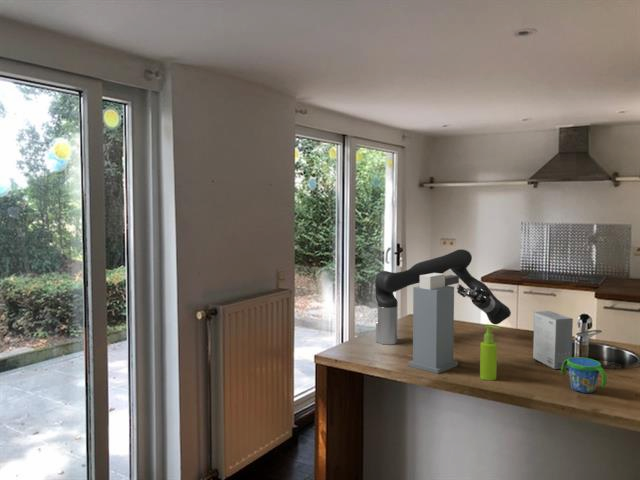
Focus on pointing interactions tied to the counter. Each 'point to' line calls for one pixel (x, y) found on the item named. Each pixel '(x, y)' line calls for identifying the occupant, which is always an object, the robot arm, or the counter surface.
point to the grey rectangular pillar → (433, 329)
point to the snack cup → (584, 373)
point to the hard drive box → (552, 338)
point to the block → (437, 280)
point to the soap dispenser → (488, 355)
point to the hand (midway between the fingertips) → (467, 287)
